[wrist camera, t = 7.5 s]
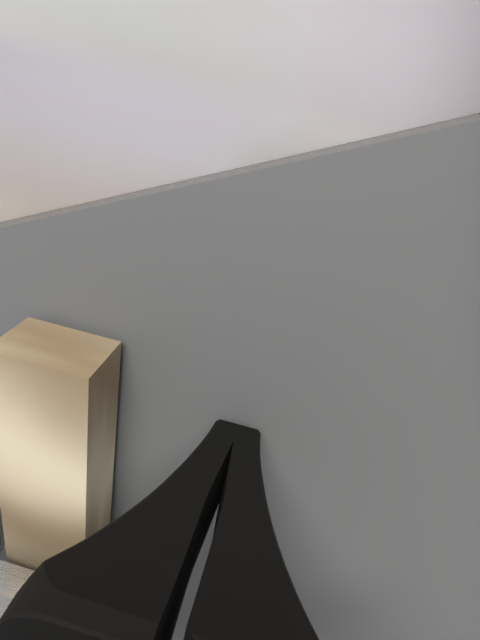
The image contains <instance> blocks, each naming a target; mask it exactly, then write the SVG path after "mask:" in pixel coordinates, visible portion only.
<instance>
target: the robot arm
mask: <svg viewBox="0 0 480 640" xmlns="http://www.w3.org/2000/svg"><path fill="white" fill-rule="evenodd" d="M260 437H261V433H260V432H259V430H257V429H254V428H250V427H246V426H243V425H239V424H236V423H232V422H228V421H225V420H221V419H219V420H217V421H216V422H215V423H214V425H213V427H212V428H211V430H210V431H209V433H208V434H207V435H206V437H205V438H204V439H203V440H202V442H201V443H200V444H199V445H198V447H197V448H196V449H195V450H194V451H193V452H192V453H191V454H190V456H189V457H188V458H187V459H186V460H185V461H184V462H183V463H182V464H181V465H180V466H179V467H178V468H177V469H176V470H175V471H174V472H173V473H172V474H171V475H170V476H169V477H168V478H167V479H166V480H165V481H164V482H163V483H162V484H161V485H160V486H158V487H157V488H156V489H155V490H154V491H153V492H151V493H150V494H149V495H148V496H147V497H145V498H144V499H143V500H142V501H140V502H139V503H138V504H137V505H135V506H134V507H133V508H131V509H130V510H128V511H127V512H126V513H124V514H123V515H122V516H120V517H119V518H117V519H116V520H114V521H113V522H112V523H110V524H108V525H107V526H105V527H104V528H102V529H100V530H99V531H97V532H96V533H94V534H92V535H91V536H89V537H88V538H86V539H84V540H82V541H81V542H79V543H77V544H75V545H73V546H72V547H70V548H68V549H66V550H64V551H62V552H60V553H58V554H56V555H54V556H52V557H51V558H49V559H47V560H45V561H43V562H42V563H41V564H40V566H39V567H38V568H37V569H36V570H35V571H34V572H33V573H32V574H31V576H30V577H29V578H28V579H27V580H26V582H25V583H24V584H23V585H22V587H21V588H20V589H19V591H18V592H17V593H16V595H15V596H14V598H13V599H12V601H11V602H10V604H9V605H8V607H7V609H6V610H5V612H4V613H3V615H2V617H1V618H0V640H172V636H173V633H174V630H175V626H176V623H177V619H178V616H179V613H180V609H181V606H182V602H183V599H184V596H185V592H186V589H187V586H188V583H189V580H190V577H191V574H192V571H193V568H194V566H195V563H196V561H197V558H198V556H199V553H200V550H201V548H202V545H203V543H204V540H205V538H206V535H207V533H208V530H209V528H210V525H211V522H212V520H213V517H214V515H215V512H216V510H217V507H218V512H217V517H216V523H215V528H214V533H213V539H212V543H211V547H210V550H209V553H208V557H207V560H206V563H205V567H204V570H203V573H202V577H201V580H200V583H199V587H198V590H197V593H196V597H195V600H194V603H193V606H192V610H191V613H190V616H189V619H188V623H187V626H186V630H185V635H184V639H183V640H319V638H318V636H317V634H316V632H315V630H314V629H313V627H312V625H311V623H310V621H309V619H308V617H307V615H306V612H305V610H304V608H303V606H302V604H301V602H300V599H299V597H298V595H297V593H296V590H295V588H294V585H293V583H292V580H291V578H290V575H289V573H288V570H287V568H286V565H285V563H284V560H283V557H282V554H281V551H280V548H279V545H278V542H277V539H276V535H275V532H274V529H273V525H272V521H271V517H270V513H269V509H268V504H267V500H266V495H265V489H264V483H263V477H262V469H261V458H260ZM218 504H219V506H218Z"/></svg>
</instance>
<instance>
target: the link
mask: <svg viewBox="0 0 480 640" xmlns="http://www.w3.org/2000/svg"><path fill="white" fill-rule="evenodd" d="M120 357H121V341H117V340H113V339H110V338H106V337H102V336H98V335H95V334H91V333H87V332H83V331H80V330H76V329H72V328H68V327H65V326H61V325H57V324H53V323H49V322H46V321H42V320H38V319H34V318H31V317H28V318H26V319H25V320H24V321H22V322H21V323H19V324H18V325H17V326H15V327H14V328H12V329H11V330H10V331H8V332H7V333H5V334H4V335H3V336H1V337H0V506H1V515H2V524H3V532H4V541H5V550H6V559H7V562H8V563H12V564H15V565H18V566H21V567H24V568H27V569H30V570H33V571H35V570H36V569H37V568H38V567H39V566H40V564H41V563H42V562H43V561H45V560H47V559H49V558H51V557H52V556H54V555H56V554H58V553H60V552H62V551H64V550H66V549H68V548H70V547H72V546H73V545H75V544H77V543H79V542H81V541H82V540H84V539H86V538H88V537H89V536H91V535H92V534H94V533H96V532H97V531H99V530H100V529H102V528H104V527H105V526H107V525H108V524H110V518H111V502H112V486H113V470H114V454H115V438H116V422H117V406H118V389H119V373H120Z"/></svg>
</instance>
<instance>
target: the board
mask: <svg viewBox="0 0 480 640" xmlns="http://www.w3.org/2000/svg"><path fill="white" fill-rule="evenodd" d="M28 317H31V318H34V319H38V320H42V321H46V322H49V323H53V324H57V325H61V326H65V327H68V328H72V329H76V330H80V331H83V332H87V333H91V334H95V335H98V336H102V337H106V338H110V339H113V340H117V341H121V357H120V373H119V389H118V406H117V422H116V438H115V454H114V470H113V486H112V502H111V518H110V523H112V522H113V521H114V520H116V519H117V518H119V517H120V516H122V515H123V514H124V513H126V512H127V511H128V510H130V509H131V508H133V507H134V506H135V505H137V504H138V503H139V502H140V501H142V500H143V499H144V498H145V497H147V496H148V495H149V494H150V493H151V492H153V491H154V490H155V489H156V488H157V487H158V486H160V485H161V484H162V483H163V482H164V481H165V480H166V479H167V478H168V477H169V476H170V475H171V474H172V473H173V472H174V471H175V470H176V469H177V468H178V467H179V466H180V465H181V464H182V463H183V462H184V461H185V460H186V459H187V458H188V457H189V456H190V454H191V453H192V452H193V451H194V450H195V449H196V448H197V447H198V445H199V444H200V443H201V442H202V440H203V439H204V438H205V437H206V435H207V434H208V433H209V431H210V430H211V428H212V427H213V425H214V423H215V422H216V421H217V420H219V419H221V420H225V421H228V422H232V423H236V424H239V425H243V426H246V427H250V428H254V429H257V430H259V432H260V433H261V437H260V458H261V469H262V477H263V483H264V489H265V495H266V500H267V504H268V509H269V513H270V517H271V521H272V525H273V529H274V532H275V535H276V539H277V542H278V545H279V548H280V551H281V554H282V557H283V560H284V563H285V565H286V568H287V570H288V573H289V575H290V578H291V580H292V583H293V585H294V588H295V590H296V593H297V595H298V597H299V599H300V602H301V604H302V606H303V608H304V610H305V612H306V615H307V617H308V619H309V621H310V623H311V625H312V627H313V629H314V630H315V632H316V634H317V636H318V638H319V640H480V113H479V114H474V115H470V116H465V117H461V118H457V119H452V120H448V121H444V122H439V123H435V124H430V125H426V126H422V127H417V128H413V129H408V130H404V131H400V132H395V133H391V134H387V135H382V136H378V137H373V138H369V139H365V140H360V141H356V142H351V143H347V144H343V145H338V146H334V147H329V148H325V149H321V150H316V151H312V152H308V153H303V154H299V155H294V156H290V157H286V158H281V159H277V160H272V161H268V162H264V163H259V164H255V165H251V166H246V167H242V168H237V169H233V170H229V171H224V172H220V173H215V174H211V175H207V176H202V177H198V178H194V179H189V180H185V181H180V182H176V183H172V184H167V185H163V186H158V187H154V188H150V189H145V190H141V191H137V192H132V193H128V194H123V195H119V196H115V197H110V198H106V199H101V200H97V201H93V202H88V203H84V204H80V205H75V206H71V207H66V208H62V209H58V210H53V211H49V212H44V213H40V214H36V215H31V216H27V217H22V218H18V219H14V220H9V221H5V222H1V223H0V337H1V336H3V335H4V334H5V333H7V332H8V331H10V330H11V329H12V328H14V327H15V326H17V325H18V324H19V323H21V322H22V321H24V320H25V319H26V318H28ZM218 506H219V504H218ZM217 512H218V507H217V510H216V512H215V515H214V517H213V520H212V522H211V525H210V528H209V530H208V533H207V535H206V538H205V540H204V543H203V545H202V548H201V550H200V553H199V556H198V558H197V561H196V563H195V566H194V568H193V571H192V574H191V577H190V580H189V583H188V586H187V589H186V592H185V596H184V599H183V602H182V606H181V609H180V613H179V616H178V619H177V623H176V626H175V630H174V633H173V636H172V640H183V639H184V635H185V630H186V626H187V623H188V619H189V616H190V613H191V610H192V606H193V603H194V600H195V597H196V593H197V590H198V587H199V583H200V580H201V577H202V573H203V570H204V567H205V563H206V560H207V557H208V553H209V550H210V547H211V543H212V539H213V533H214V528H215V523H216V517H217ZM0 560H2V561H5V562H7V559H6V550H5V547H4V549H3V550H2V552H1V553H0Z"/></svg>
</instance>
